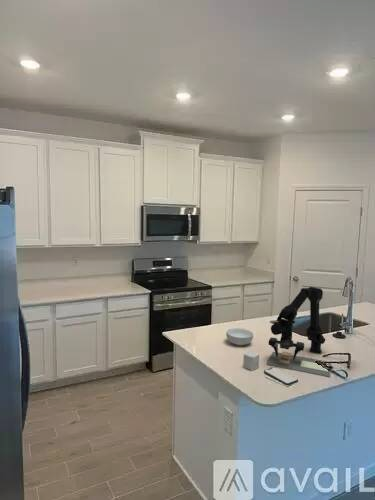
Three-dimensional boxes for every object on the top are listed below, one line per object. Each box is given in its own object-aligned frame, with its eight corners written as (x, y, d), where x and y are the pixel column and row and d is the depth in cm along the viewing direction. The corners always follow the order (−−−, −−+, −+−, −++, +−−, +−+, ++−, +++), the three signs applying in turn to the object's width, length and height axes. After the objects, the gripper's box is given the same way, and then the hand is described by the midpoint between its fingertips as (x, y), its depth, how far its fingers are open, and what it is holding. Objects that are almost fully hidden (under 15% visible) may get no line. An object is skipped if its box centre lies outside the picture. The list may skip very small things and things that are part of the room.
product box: (259, 367, 183) (259, 354, 182) (252, 371, 178) (253, 357, 178) (249, 363, 187) (250, 351, 186) (242, 367, 183) (243, 353, 182)
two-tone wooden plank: (282, 355, 198) (282, 351, 197) (291, 357, 196) (291, 352, 195) (279, 363, 187) (279, 358, 187) (288, 365, 185) (288, 360, 185)
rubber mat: (272, 352, 203) (272, 351, 203) (331, 362, 190) (331, 361, 190) (266, 364, 186) (266, 363, 186) (330, 377, 173) (330, 376, 173)
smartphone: (299, 382, 168) (274, 369, 182) (299, 379, 168) (274, 366, 181) (287, 387, 163) (262, 373, 177) (287, 384, 163) (262, 370, 176)
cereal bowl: (224, 346, 211) (224, 335, 210) (227, 337, 227) (227, 327, 226) (252, 349, 207) (252, 338, 206) (253, 340, 223) (253, 329, 222)
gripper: (267, 333, 186) (265, 360, 188) (303, 339, 178) (301, 367, 180) (271, 327, 196) (269, 353, 198) (305, 332, 189) (303, 359, 190)
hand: (285, 358), depth 191 cm, fingers open, 9 cm apart
